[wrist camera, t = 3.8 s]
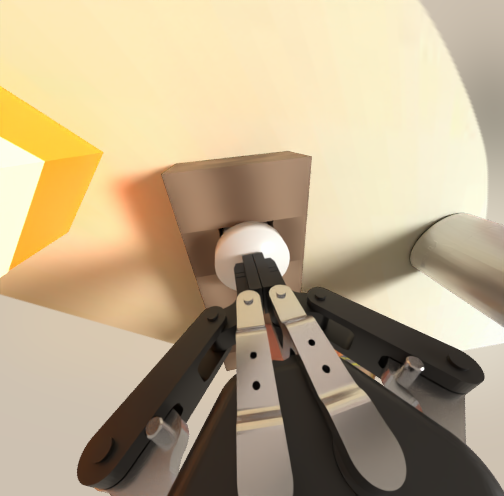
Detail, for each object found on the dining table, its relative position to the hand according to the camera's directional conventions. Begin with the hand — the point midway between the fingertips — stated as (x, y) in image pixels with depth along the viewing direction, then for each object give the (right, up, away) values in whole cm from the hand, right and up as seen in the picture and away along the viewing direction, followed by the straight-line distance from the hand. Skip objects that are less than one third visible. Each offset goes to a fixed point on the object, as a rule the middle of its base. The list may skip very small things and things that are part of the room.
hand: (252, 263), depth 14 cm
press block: (-1, -2, +10) cm, 10 cm away
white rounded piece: (-1, +3, +5) cm, 7 cm away
